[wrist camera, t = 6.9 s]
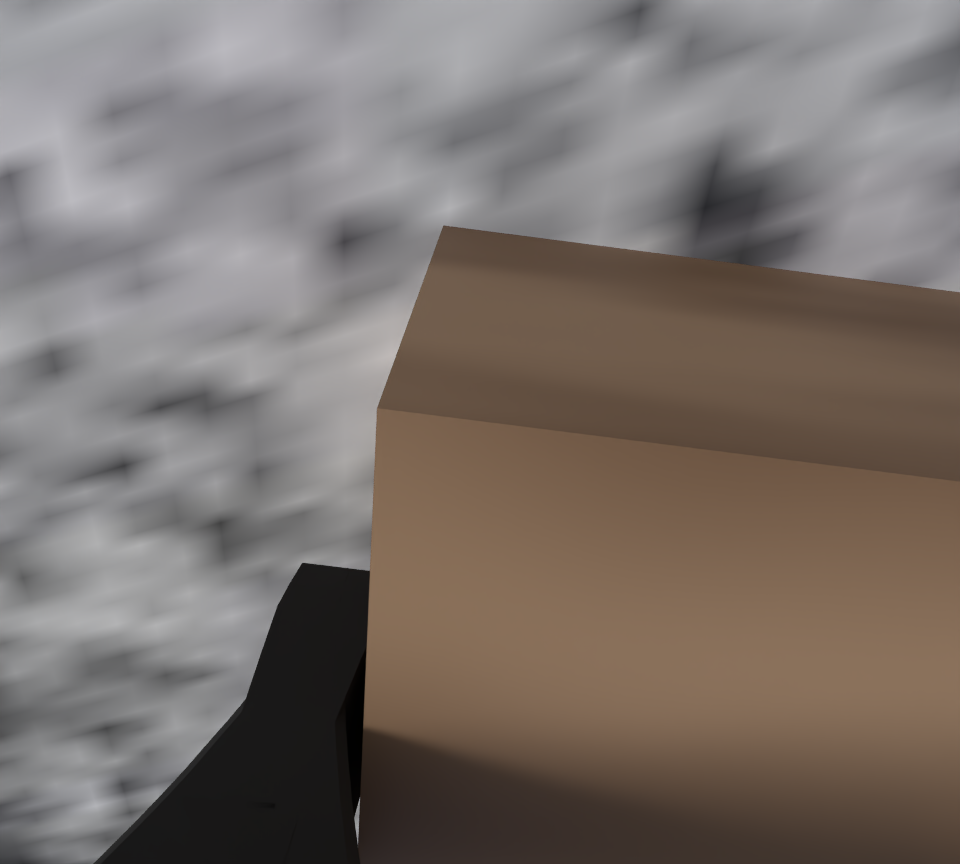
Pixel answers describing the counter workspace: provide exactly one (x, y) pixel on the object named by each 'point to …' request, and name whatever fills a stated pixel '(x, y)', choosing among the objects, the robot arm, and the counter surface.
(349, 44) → the counter surface
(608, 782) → the walnut block
